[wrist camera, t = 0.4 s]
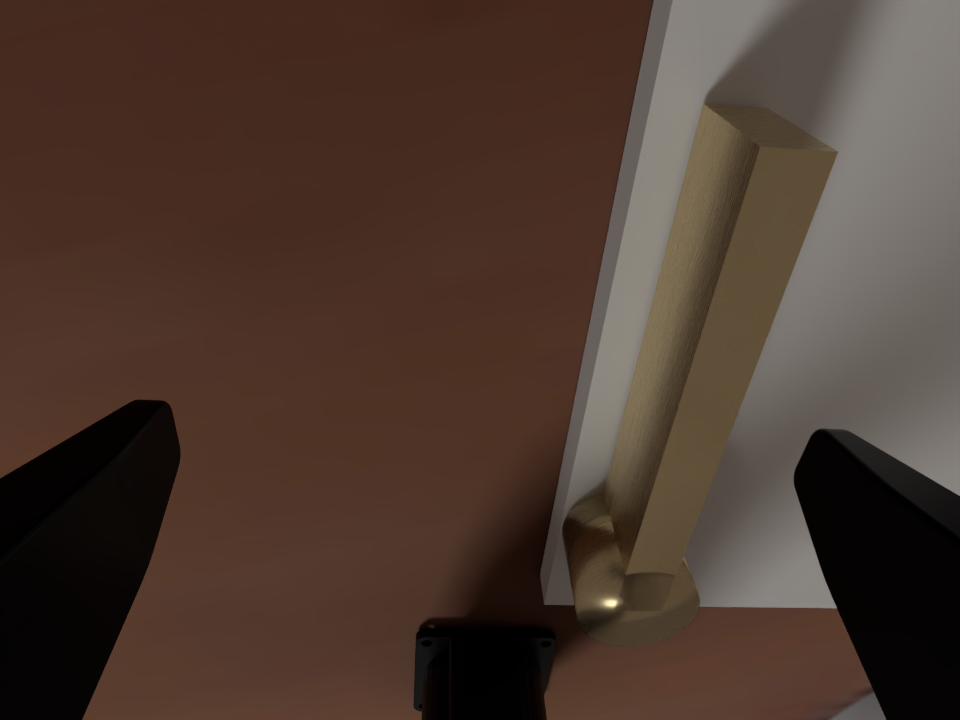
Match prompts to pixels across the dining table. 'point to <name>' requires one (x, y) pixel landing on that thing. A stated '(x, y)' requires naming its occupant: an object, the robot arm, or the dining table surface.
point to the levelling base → (814, 280)
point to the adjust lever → (693, 368)
